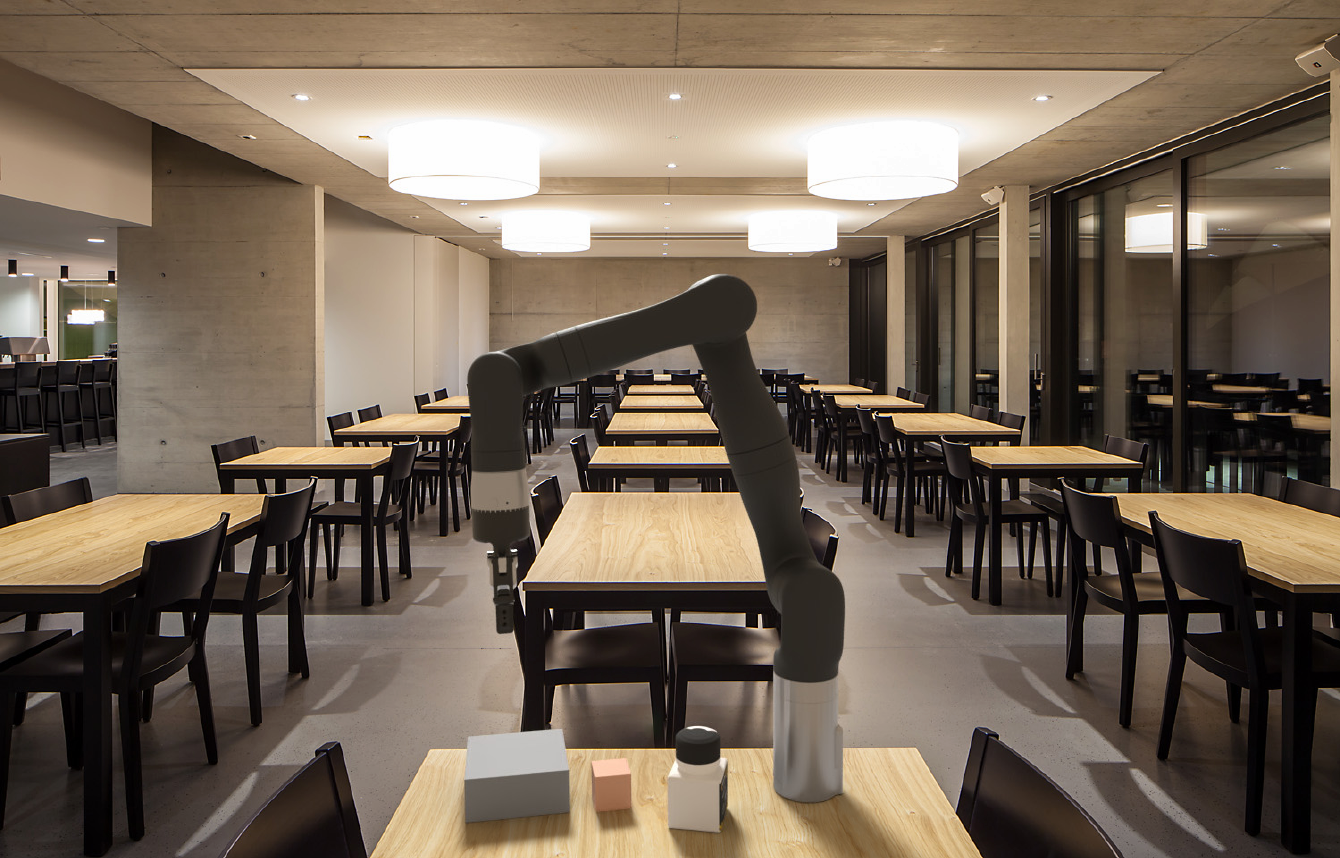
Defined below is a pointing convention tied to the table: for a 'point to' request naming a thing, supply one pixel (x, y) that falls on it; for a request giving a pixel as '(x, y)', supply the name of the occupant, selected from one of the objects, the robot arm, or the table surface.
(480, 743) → the slate pedestal
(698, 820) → the medicine bottle
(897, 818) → the table surface
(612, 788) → the terracotta cube
